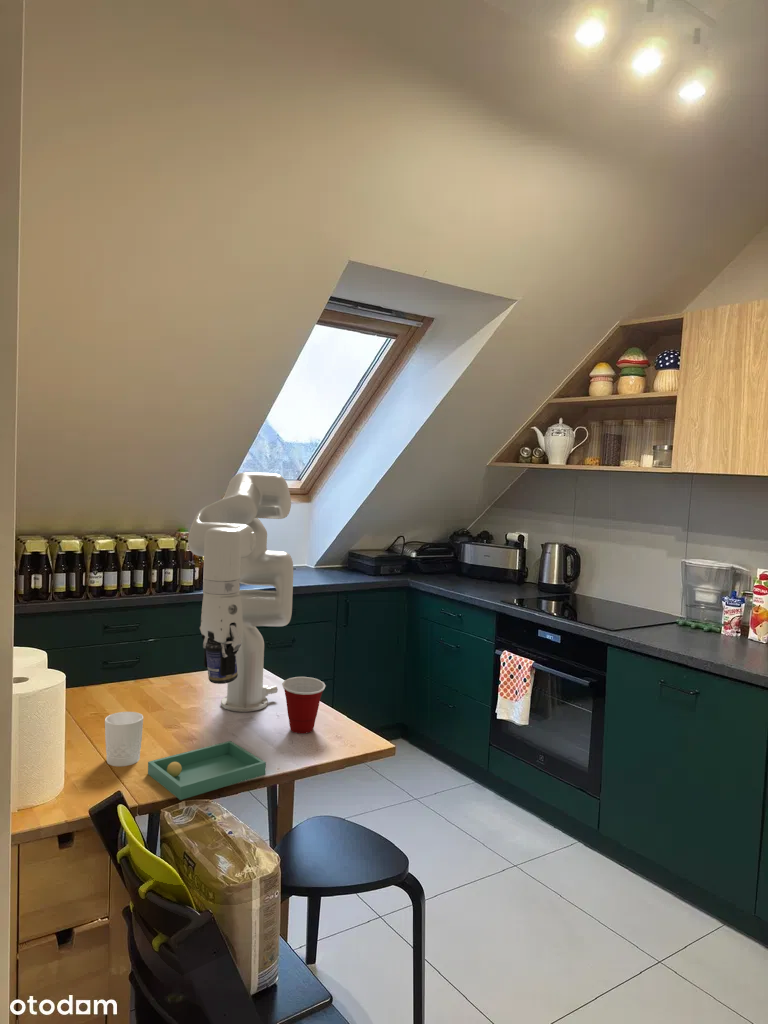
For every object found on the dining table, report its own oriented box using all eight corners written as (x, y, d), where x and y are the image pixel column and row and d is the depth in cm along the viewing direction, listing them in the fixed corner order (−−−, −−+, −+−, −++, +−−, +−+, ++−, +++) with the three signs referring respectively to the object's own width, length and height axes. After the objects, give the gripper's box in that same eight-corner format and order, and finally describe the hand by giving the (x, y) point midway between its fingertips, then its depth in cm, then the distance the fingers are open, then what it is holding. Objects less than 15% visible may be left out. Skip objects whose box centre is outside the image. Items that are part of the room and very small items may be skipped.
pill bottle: (230, 685, 152) (226, 635, 150) (203, 684, 153) (198, 634, 151) (242, 673, 158) (238, 625, 156) (216, 672, 159) (211, 624, 157)
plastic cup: (289, 740, 176) (291, 692, 175) (274, 725, 186) (276, 679, 185) (330, 734, 181) (332, 687, 180) (314, 719, 191) (315, 674, 190)
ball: (177, 771, 155) (177, 758, 154) (184, 776, 152) (184, 763, 152) (164, 775, 153) (164, 761, 152) (170, 780, 150) (171, 766, 150)
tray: (229, 754, 166) (230, 740, 166) (265, 776, 156) (265, 762, 155) (147, 776, 153) (148, 761, 153) (180, 802, 142) (180, 786, 142)
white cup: (110, 754, 163) (110, 711, 162) (146, 755, 164) (147, 711, 163) (99, 769, 155) (100, 724, 154) (137, 770, 156) (138, 724, 155)
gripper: (259, 592, 149) (256, 678, 151) (216, 578, 162) (214, 657, 163) (226, 596, 144) (224, 684, 146) (185, 581, 157) (183, 663, 158)
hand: (219, 669), depth 154 cm, fingers closed on pill bottle, 6 cm apart
